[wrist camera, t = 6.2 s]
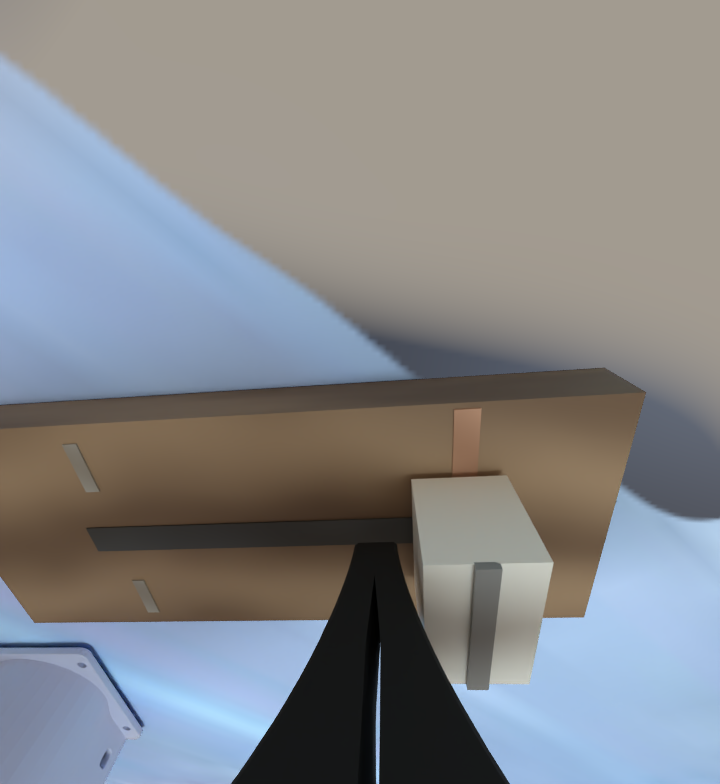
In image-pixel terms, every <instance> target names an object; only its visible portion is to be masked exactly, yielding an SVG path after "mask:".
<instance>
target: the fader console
mask: <svg viewBox="0 0 720 784" xmlns="http://www.w3.org/2000/svg"><path fill="white" fill-rule="evenodd" d="M645 394H646V392H645V391H643V390H641V389H639V388H638V387H636V386H634V385H633V384H631V383H629V382H628V381H626V380H624V379H623V378H621V377H619V376H617V375H616V374H614V373H612V372H611V371H609V370H607V369H606V368H595V369H594V368H593V369H577V370H562V371H545V372H530V373H514V374H496V375H480V376H464V377H448V378H432V379H416V380H400V381H384V382H368V383H352V384H336V385H320V386H303V387H287V388H271V389H255V390H239V391H223V392H207V393H191V394H175V395H159V396H143V397H127V398H110V399H94V400H78V401H62V402H46V403H30V404H14V405H0V577H1V578H2V579H3V581H4V582H5V583H6V585H7V586H8V588H9V589H10V590H11V592H12V593H13V594H14V596H15V597H16V598H17V600H18V601H19V602H20V604H21V605H22V606H23V608H24V609H25V611H26V612H27V613H28V615H29V616H30V617H31V619H32V620H33V621H34V623H61V622H161V621H262V620H329V618H330V616H331V614H332V611H333V609H334V607H335V604H336V602H337V599H338V597H339V594H340V592H341V589H342V587H343V584H344V581H345V578H346V575H347V572H348V569H349V566H350V563H351V559H352V556H353V552H354V547H355V545H356V544H357V543H369V542H394V543H396V544H397V548H398V554H399V559H400V563H401V567H402V571H403V574H404V577H405V581H406V584H407V587H408V590H409V592H410V595H411V598H412V600H413V603H414V606H415V608H416V611H417V602H416V593H415V581H414V550H413V519H412V487H411V479H428V478H453V477H478V476H503V475H507V476H508V478H509V480H510V482H511V484H512V486H513V488H514V489H515V491H516V493H517V495H518V497H519V499H520V501H521V503H522V504H523V506H524V508H525V510H526V512H527V514H528V516H529V517H530V519H531V521H532V523H533V525H534V527H535V529H536V531H537V532H538V534H539V536H540V538H541V540H542V542H543V544H544V545H545V547H546V549H547V551H548V553H549V555H550V557H551V559H552V560H553V562H554V563H553V568H552V573H551V578H550V583H549V588H548V593H547V598H546V603H545V608H544V613H543V618H563V617H584V615H585V611H586V608H587V604H588V601H589V597H590V593H591V590H592V586H593V582H594V579H595V575H596V572H597V568H598V564H599V561H600V557H601V554H602V550H603V546H604V543H605V539H606V535H607V532H608V528H609V525H610V521H611V517H612V514H613V510H614V506H615V503H616V499H617V496H618V492H619V488H620V485H621V481H622V477H623V474H624V470H625V467H626V463H627V459H628V456H629V452H630V449H631V445H632V441H633V438H634V434H635V430H636V427H637V423H638V419H639V416H640V412H641V409H642V405H643V401H644V398H645ZM417 613H418V612H417Z"/></svg>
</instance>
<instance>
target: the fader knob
mask: <svg viewBox="0 0 720 784" xmlns="http://www.w3.org/2000/svg"><path fill="white" fill-rule="evenodd" d="M411 487H412V519H413V550H414V581H415V593H416V602H417V612H418V616H419V618H420V621H421V623H422V625H423V628H424V630H425V632H426V634H427V637H428V639H429V641H430V643H431V645H432V647H433V650H434V652H435V654H436V656H437V658H438V660H439V662H440V664H441V666H442V668H443V670H444V672H445V674H446V676H447V678H448V680H449V682H450V683H451V684H466V685H467V690H489V684H529V683H530V678H531V673H532V668H533V663H534V658H535V653H536V648H537V643H538V638H539V633H540V628H541V623H542V618H543V613H544V608H545V603H546V598H547V593H548V588H549V583H550V578H551V573H552V568H553V563H554V562H553V560H552V559H551V557H550V555H549V553H548V551H547V549H546V547H545V545H544V544H543V542H542V540H541V538H540V536H539V534H538V532H537V531H536V529H535V527H534V525H533V523H532V521H531V519H530V517H529V516H528V514H527V512H526V510H525V508H524V506H523V504H522V503H521V501H520V499H519V497H518V495H517V493H516V491H515V489H514V488H513V486H512V484H511V482H510V480H509V478H508V476H507V475H503V476H478V477H453V478H428V479H411Z"/></svg>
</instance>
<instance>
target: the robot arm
mask: <svg viewBox="0 0 720 784" xmlns="http://www.w3.org/2000/svg"><path fill="white" fill-rule="evenodd" d="M380 647H381V669H380V766H379V784H510V783H509V782H508V780H507V779H506V777H505V776H504V774H503V772H502V771H501V769H500V768H499V766H498V764H497V763H496V761H495V760H494V758H493V756H492V755H491V753H490V752H489V750H488V748H487V747H486V745H485V743H484V742H483V740H482V738H481V736H480V735H479V733H478V731H477V730H476V728H475V726H474V724H473V723H472V721H471V719H470V718H469V716H468V714H467V712H466V711H465V709H464V707H463V706H462V704H461V702H460V700H459V698H458V696H457V695H456V693H455V691H454V689H453V687H452V685H451V683H450V682H449V680H448V678H447V676H446V674H445V672H444V670H443V668H442V666H441V664H440V662H439V660H438V658H437V656H436V654H435V652H434V650H433V647H432V645H431V643H430V641H429V639H428V637H427V634H426V632H425V630H424V628H423V625H422V623H421V621H420V618H419V616H418V613H417V611H416V608H415V606H414V603H413V600H412V598H411V595H410V592H409V590H408V587H407V584H406V581H405V577H404V574H403V571H402V567H401V563H400V559H399V554H398V548H397V544H396V543H394V542H369V543H357V544H356V545H355V547H354V552H353V556H352V559H351V563H350V566H349V569H348V572H347V575H346V578H345V581H344V584H343V587H342V589H341V592H340V594H339V597H338V599H337V602H336V604H335V607H334V609H333V611H332V614H331V616H330V618H329V620H328V623H327V625H326V627H325V629H324V631H323V633H322V636H321V638H320V640H319V642H318V644H317V646H316V648H315V650H314V652H313V654H312V656H311V658H310V660H309V661H308V663H307V665H306V667H305V669H304V671H303V673H302V674H301V676H300V678H299V680H298V681H297V683H296V685H295V687H294V688H293V690H292V692H291V693H290V695H289V697H288V699H287V700H286V702H285V704H284V705H283V707H282V709H281V710H280V712H279V714H278V715H277V717H276V718H275V720H274V722H273V723H272V725H271V726H270V728H269V729H268V731H267V732H266V734H265V735H264V737H263V738H262V740H261V741H260V743H259V744H258V746H257V747H256V749H255V750H254V752H253V753H252V755H251V756H250V758H249V759H248V761H247V762H246V764H245V765H244V766H243V768H242V769H241V771H240V772H239V774H238V775H237V776H236V778H235V779H234V780H233V782H232V783H231V784H376V701H377V685H378V669H379V653H380ZM142 731H143V730H142V728H141V726H140V725H139V723H138V722H137V720H136V719H135V717H134V716H133V714H132V713H131V711H130V710H129V708H128V707H127V705H126V704H125V702H124V701H123V699H122V698H121V696H120V695H119V693H118V692H117V690H116V689H115V687H114V686H113V684H112V683H111V681H110V680H109V678H108V677H107V675H106V674H105V672H104V671H103V669H102V668H101V666H100V665H99V663H98V662H97V660H96V659H95V657H94V656H93V654H92V653H91V652H90V651H89V650H88V649H86V648H81V647H62V648H0V784H104V783H105V781H106V779H107V777H108V775H109V773H110V771H111V769H112V767H113V765H114V763H115V761H116V759H117V757H118V755H119V753H120V751H121V749H122V747H123V745H124V743H125V741H126V739H129V740H135V739H138V738H140V736H141V734H142Z"/></svg>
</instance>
